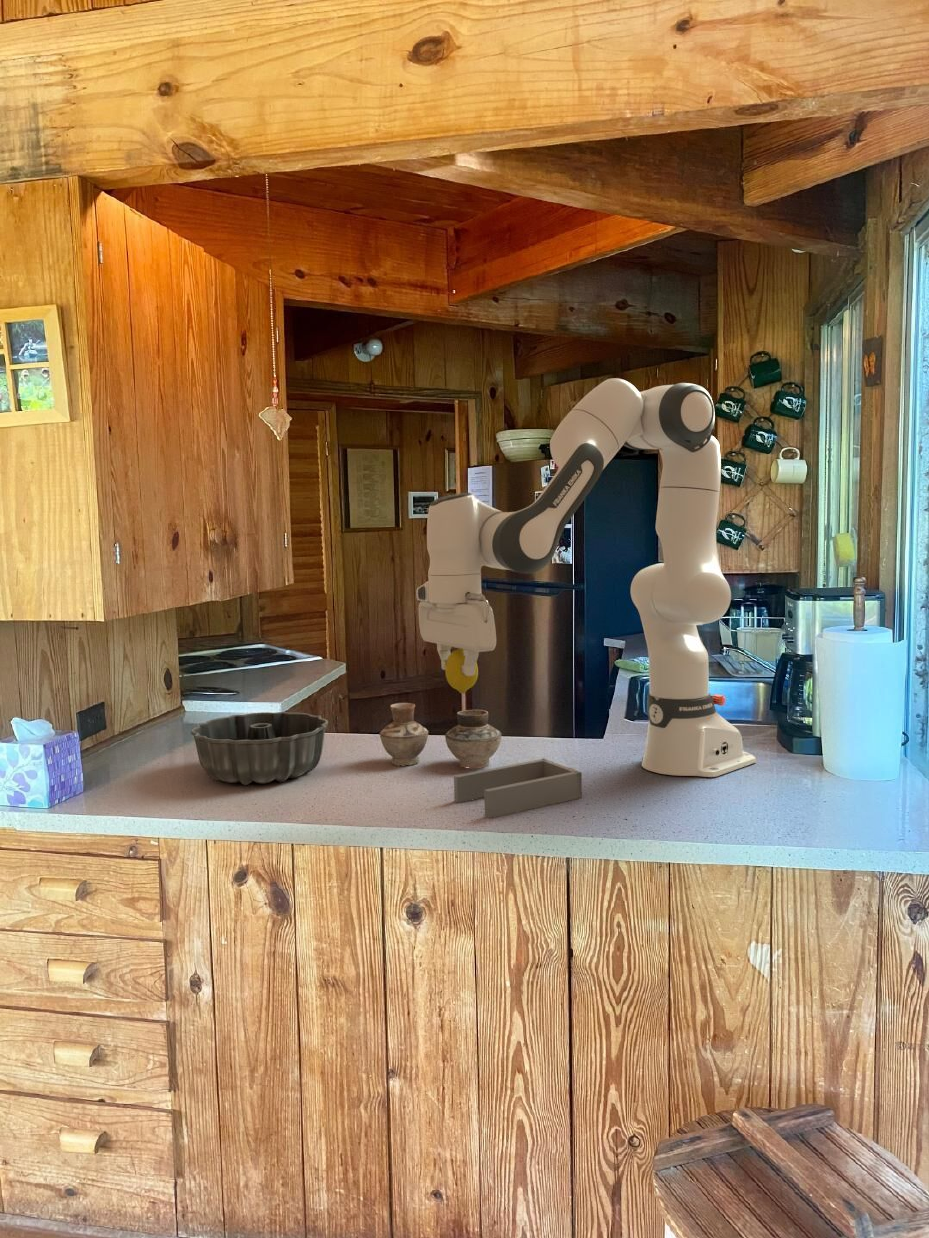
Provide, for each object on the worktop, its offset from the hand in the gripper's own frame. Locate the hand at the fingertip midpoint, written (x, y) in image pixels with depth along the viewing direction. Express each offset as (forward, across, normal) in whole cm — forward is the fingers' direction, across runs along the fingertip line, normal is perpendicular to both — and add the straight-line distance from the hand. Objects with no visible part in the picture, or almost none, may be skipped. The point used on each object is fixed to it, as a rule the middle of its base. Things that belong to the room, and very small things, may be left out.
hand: (458, 672), depth 155 cm
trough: (+23, -3, -9) cm, 25 cm away
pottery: (+23, +26, -10) cm, 36 cm away
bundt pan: (+23, +41, +22) cm, 52 cm away
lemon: (+4, 0, -1) cm, 4 cm away
